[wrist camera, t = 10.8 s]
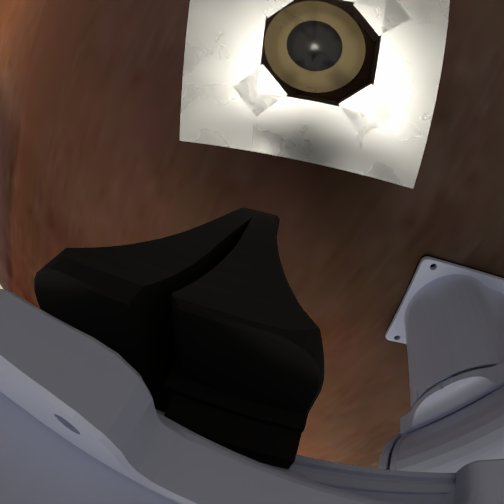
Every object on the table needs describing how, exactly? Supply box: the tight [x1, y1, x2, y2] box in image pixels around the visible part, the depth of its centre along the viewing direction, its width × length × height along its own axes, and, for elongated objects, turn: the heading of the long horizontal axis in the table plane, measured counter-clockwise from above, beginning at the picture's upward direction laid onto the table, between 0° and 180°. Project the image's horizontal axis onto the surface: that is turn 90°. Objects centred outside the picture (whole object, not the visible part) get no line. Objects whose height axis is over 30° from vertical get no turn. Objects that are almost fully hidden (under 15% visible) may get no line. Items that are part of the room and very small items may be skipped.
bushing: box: [264, 1, 366, 93], centre depth 13 cm, size 4×4×6 cm
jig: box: [180, 0, 450, 189], centre depth 14 cm, size 13×12×3 cm
